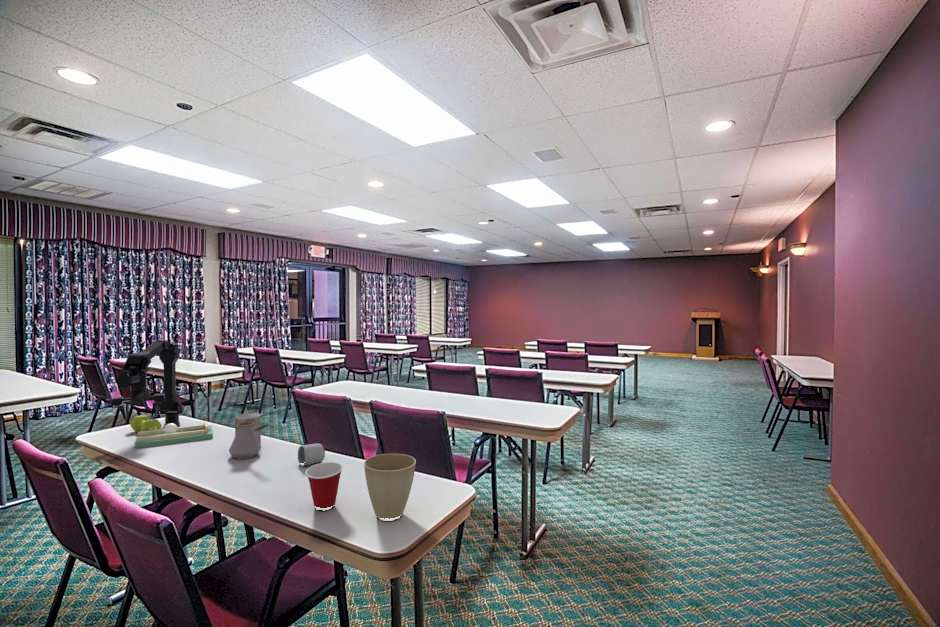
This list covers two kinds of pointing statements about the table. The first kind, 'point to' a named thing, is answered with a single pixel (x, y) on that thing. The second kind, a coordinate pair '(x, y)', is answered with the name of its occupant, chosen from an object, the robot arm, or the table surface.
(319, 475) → the plastic cup
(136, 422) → the dumbbell
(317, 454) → the ceramic mug
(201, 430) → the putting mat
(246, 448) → the coffee pot
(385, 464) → the plant pot
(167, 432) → the golf ball
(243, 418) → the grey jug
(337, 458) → the table surface
